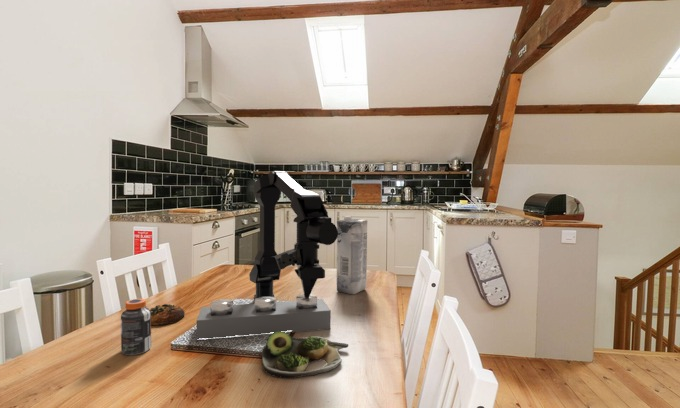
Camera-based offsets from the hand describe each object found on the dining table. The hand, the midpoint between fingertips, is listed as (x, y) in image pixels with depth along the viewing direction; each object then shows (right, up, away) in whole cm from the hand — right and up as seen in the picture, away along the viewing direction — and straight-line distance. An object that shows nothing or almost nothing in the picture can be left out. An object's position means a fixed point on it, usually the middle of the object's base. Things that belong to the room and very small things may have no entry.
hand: (306, 297), depth 99 cm
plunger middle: (-11, -7, -3) cm, 13 cm away
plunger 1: (-21, -7, -5) cm, 23 cm away
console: (-11, -7, -2) cm, 13 cm away
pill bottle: (-37, -8, -17) cm, 41 cm away
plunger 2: (0, -7, 0) cm, 7 cm away
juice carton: (+13, -6, +33) cm, 36 cm away
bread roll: (-40, -7, +3) cm, 41 cm away
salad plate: (0, -9, -19) cm, 21 cm away
